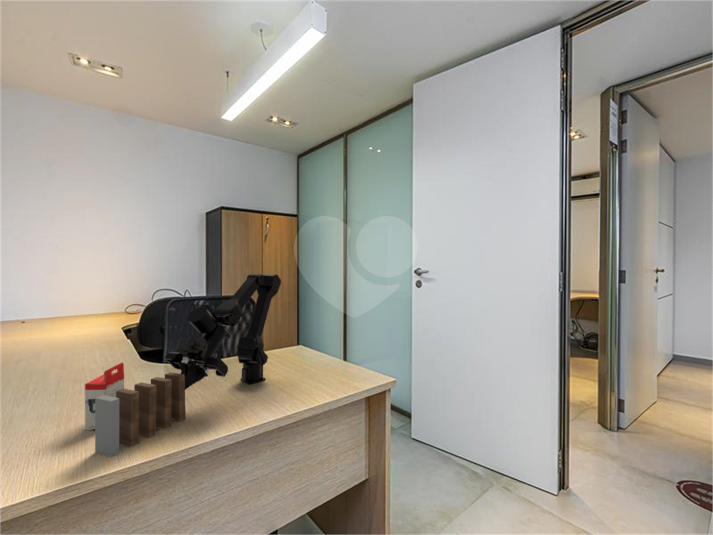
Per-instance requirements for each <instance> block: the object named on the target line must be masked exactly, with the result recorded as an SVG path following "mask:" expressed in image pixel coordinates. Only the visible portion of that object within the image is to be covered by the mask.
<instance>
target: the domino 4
mask: <svg viewBox="0 0 713 535" xmlns="http://www.w3.org/2000/svg"><path fill="white" fill-rule="evenodd" d="M171 383H172V379H166V378H165V377H160V376H156V377H152V378H150V384H153V385H156V429H157V428H158V429H162V430H167V429H169V428H171V427H172V420H171Z"/></svg>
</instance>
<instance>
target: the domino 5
mask: <svg viewBox="0 0 713 535" xmlns="http://www.w3.org/2000/svg"><path fill="white" fill-rule="evenodd" d="M164 378H166V379H172V383H171V421H174V422H179V423H180V422H182V421H184V420H186V390H185V374H181V373H178V372H172V371H169V372H166V373H165V374H164Z"/></svg>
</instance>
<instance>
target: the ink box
mask: <svg viewBox="0 0 713 535" xmlns="http://www.w3.org/2000/svg"><path fill="white" fill-rule="evenodd" d="M124 366H125V365H124V362H120V363H118V364H116V365H114V366H112V367H110V368H108V369H106V370H104V372H103V374H102V375H99V376H98V377H96V378H94V379H92V380H90V381H88V382H86V383H85V384H84V400H85V401H84V405H85V406H84V414H85V416H84V418H85V419H84V430H85V431H91V430H90V429H95V398H97V397H100V396H102V395H106V396H110V397H115V398H116V391H117V390H120V389H123V388H124V389H125V367H124ZM114 371H115V372H114Z"/></svg>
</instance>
